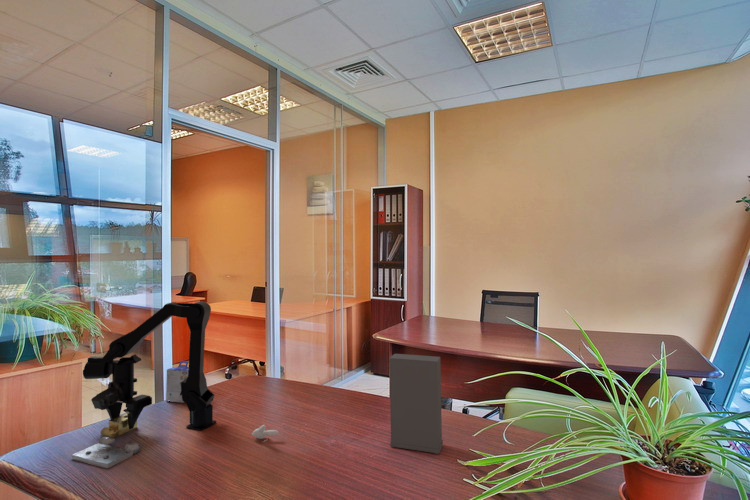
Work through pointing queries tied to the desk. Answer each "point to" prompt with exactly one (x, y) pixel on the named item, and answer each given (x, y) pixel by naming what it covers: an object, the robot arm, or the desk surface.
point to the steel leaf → (106, 453)
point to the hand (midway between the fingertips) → (123, 427)
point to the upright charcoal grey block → (416, 402)
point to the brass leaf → (117, 427)
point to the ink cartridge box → (176, 382)
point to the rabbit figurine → (263, 432)
